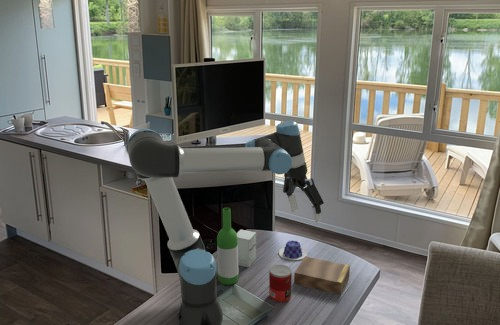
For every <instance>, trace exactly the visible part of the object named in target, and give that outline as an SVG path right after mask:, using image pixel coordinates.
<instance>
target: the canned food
mask: <svg viewBox="0 0 500 325" xmlns="http://www.w3.org/2000/svg"><path fill="white" fill-rule="evenodd" d="M292 271H293V270H292V268H291V267H289V266H288V265H285V264H274V265H272V266H271V267H269V272H268V273H269V274H268V275H269V276H268V277H269V278H268V279H269V284H268V287H269V288H268V289H269V290H268V291H269V297H270V299H271V300H272V301H273V302H277V303H285V302H288V301H289V300H290V299H291V298H292V284H293V283H292V279H293V278H292V277H293V275H292V274H293V272H292Z"/></svg>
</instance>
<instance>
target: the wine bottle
mask: <svg viewBox="0 0 500 325" xmlns="http://www.w3.org/2000/svg"><path fill="white" fill-rule="evenodd" d="M231 213H232V212H231V208H230V207H227V206H226V207H224V208H222V228H221V229H220V230H219V231H218V232H217V233H218V234H217V236H216V244H217V245H216V247H217V250H216V251H217V273H218V274H217V275H218V281H219V283H220V284H223V285H225V286H227V285H228V286H231V285H234V284H236V283H237V282H238V280H239V278H240V277H239V265H238V237H237V232H236V231H235V229H233V227H232V214H231ZM233 283H234V284H233ZM230 284H231V285H230Z"/></svg>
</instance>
